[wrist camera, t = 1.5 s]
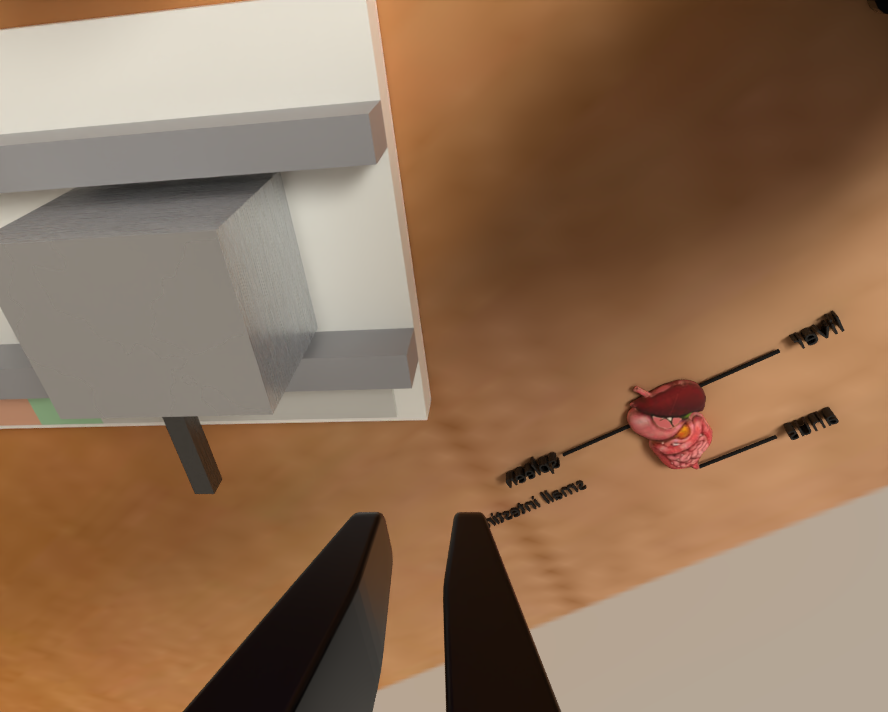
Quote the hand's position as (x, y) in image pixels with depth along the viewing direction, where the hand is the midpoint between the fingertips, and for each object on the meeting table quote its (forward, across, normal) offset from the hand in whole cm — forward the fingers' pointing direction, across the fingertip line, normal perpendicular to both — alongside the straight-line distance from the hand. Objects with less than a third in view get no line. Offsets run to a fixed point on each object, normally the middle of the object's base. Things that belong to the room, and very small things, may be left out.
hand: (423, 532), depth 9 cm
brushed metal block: (+10, +8, +2) cm, 13 cm away
